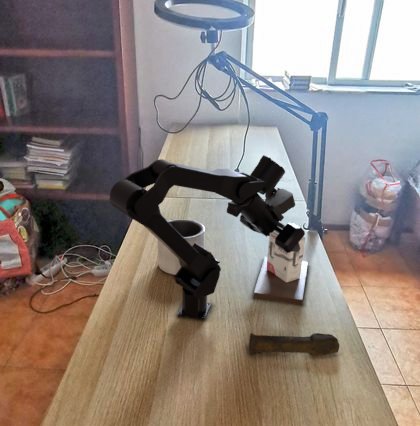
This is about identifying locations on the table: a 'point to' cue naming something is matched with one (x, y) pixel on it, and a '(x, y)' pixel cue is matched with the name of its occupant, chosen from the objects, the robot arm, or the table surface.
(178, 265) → the planter
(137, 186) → the robot arm
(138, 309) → the table surface
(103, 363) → the table surface
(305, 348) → the hand tool
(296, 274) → the ink box
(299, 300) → the walnut board
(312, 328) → the table surface
